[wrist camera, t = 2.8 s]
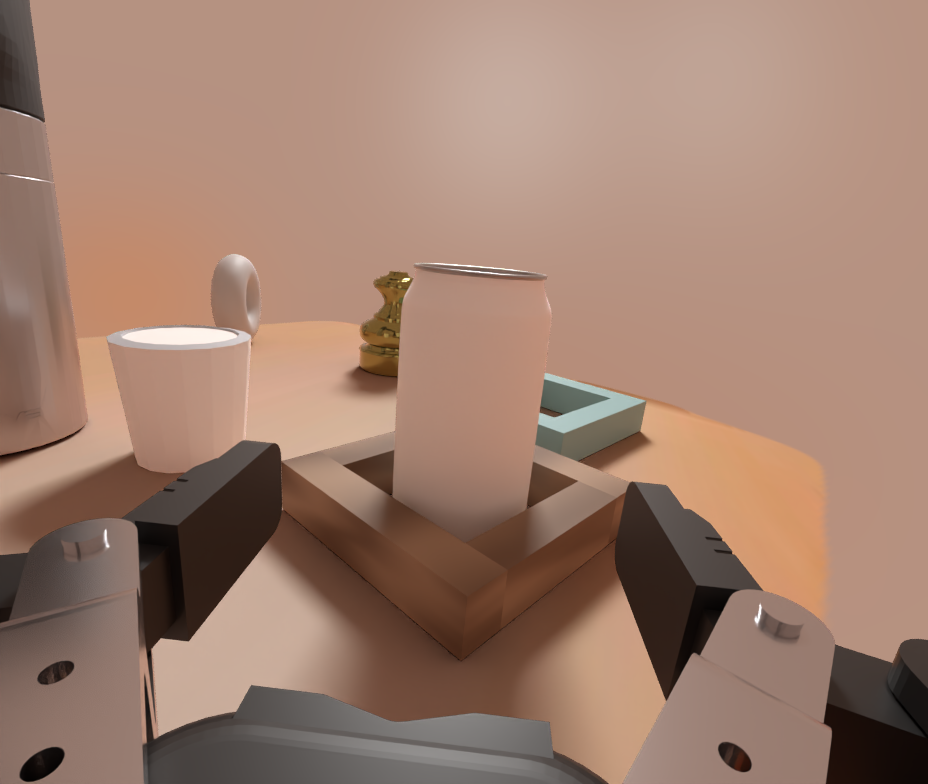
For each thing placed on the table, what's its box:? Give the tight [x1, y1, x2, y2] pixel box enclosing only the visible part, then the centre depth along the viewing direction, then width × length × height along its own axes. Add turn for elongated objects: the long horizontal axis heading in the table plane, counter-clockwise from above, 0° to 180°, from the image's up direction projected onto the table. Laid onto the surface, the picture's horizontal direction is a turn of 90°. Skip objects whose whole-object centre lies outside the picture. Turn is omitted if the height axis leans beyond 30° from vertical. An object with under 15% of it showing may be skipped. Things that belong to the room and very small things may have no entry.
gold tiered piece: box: [359, 271, 414, 376], centre depth 50 cm, size 7×7×10 cm
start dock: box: [281, 431, 630, 661], centre depth 23 cm, size 12×12×2 cm
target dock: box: [535, 373, 646, 461], centre depth 38 cm, size 12×12×2 cm
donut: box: [211, 254, 261, 340], centre depth 54 cm, size 10×4×10 cm, turn 9°
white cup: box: [106, 325, 251, 473], centre depth 27 cm, size 7×7×7 cm
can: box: [392, 263, 552, 543], centre depth 22 cm, size 6×6×12 cm
